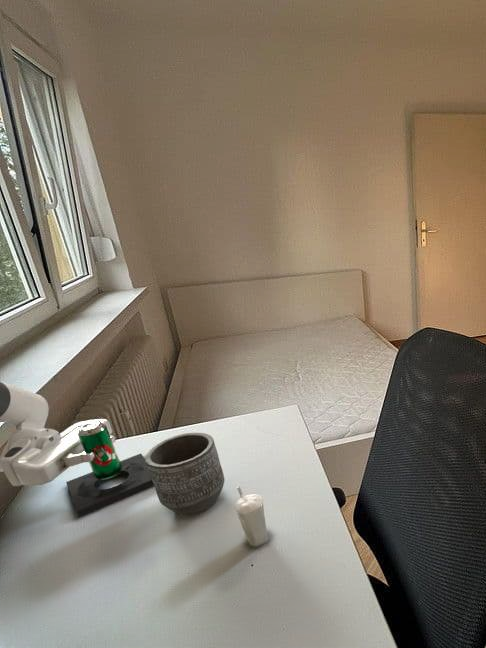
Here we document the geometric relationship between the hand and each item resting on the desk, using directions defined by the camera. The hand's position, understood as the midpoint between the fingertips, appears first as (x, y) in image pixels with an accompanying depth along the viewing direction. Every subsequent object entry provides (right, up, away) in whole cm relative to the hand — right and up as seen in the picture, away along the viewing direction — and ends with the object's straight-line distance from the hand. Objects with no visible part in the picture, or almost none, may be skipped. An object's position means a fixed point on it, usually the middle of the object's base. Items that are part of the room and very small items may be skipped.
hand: (103, 448), depth 93 cm
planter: (+21, -11, -3) cm, 24 cm away
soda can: (0, -6, +3) cm, 7 cm away
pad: (0, -9, +4) cm, 10 cm away
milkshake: (+37, -14, -14) cm, 42 cm away
